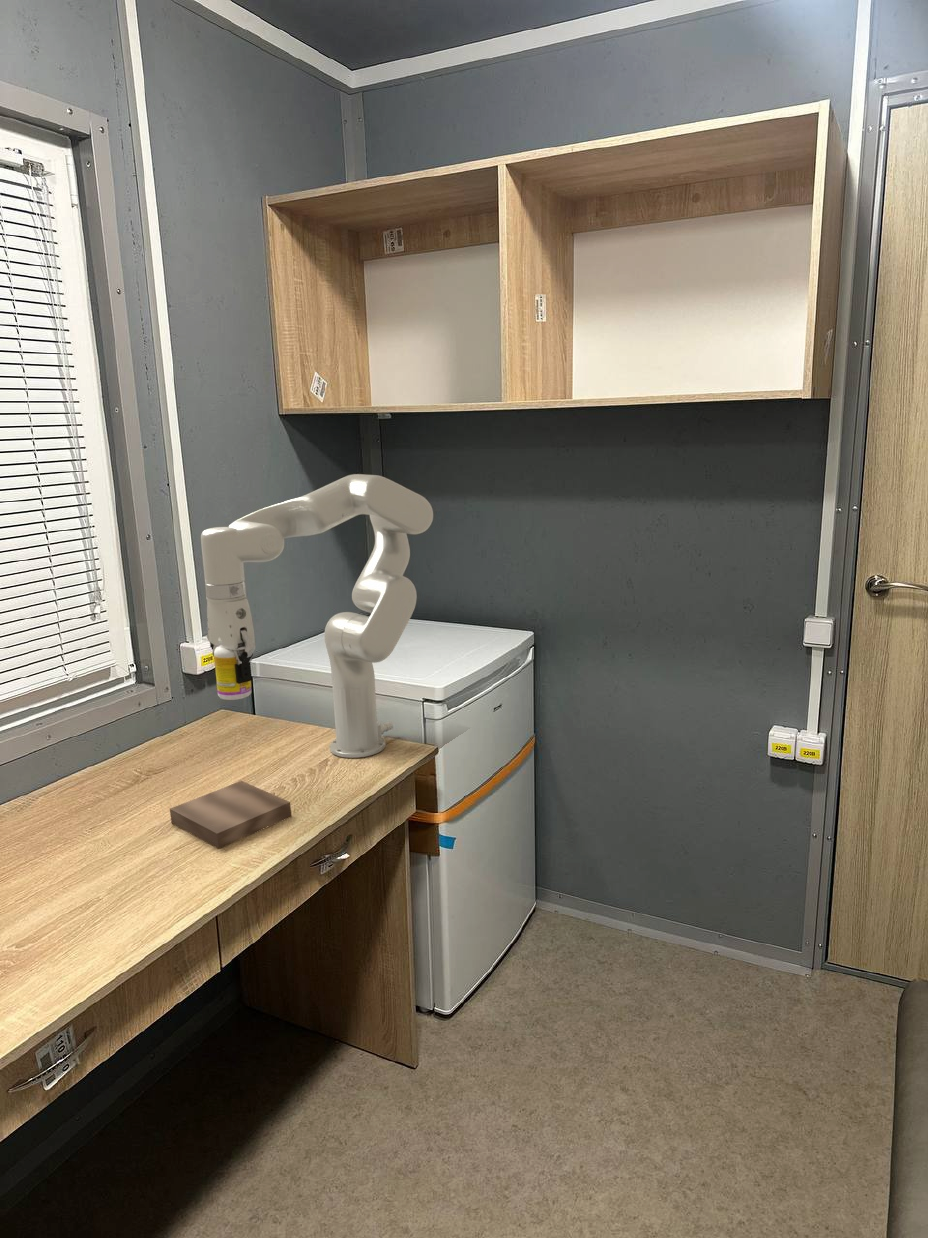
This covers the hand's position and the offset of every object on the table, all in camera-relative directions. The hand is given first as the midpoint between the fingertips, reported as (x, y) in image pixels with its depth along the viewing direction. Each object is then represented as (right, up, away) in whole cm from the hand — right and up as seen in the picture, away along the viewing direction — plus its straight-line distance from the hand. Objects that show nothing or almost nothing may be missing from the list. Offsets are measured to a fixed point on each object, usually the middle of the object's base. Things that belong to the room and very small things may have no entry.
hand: (233, 677), depth 174 cm
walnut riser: (+2, -27, -8) cm, 28 cm away
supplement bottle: (0, -4, +1) cm, 4 cm away
